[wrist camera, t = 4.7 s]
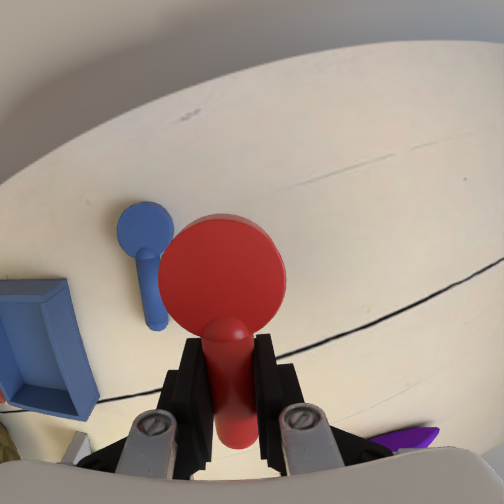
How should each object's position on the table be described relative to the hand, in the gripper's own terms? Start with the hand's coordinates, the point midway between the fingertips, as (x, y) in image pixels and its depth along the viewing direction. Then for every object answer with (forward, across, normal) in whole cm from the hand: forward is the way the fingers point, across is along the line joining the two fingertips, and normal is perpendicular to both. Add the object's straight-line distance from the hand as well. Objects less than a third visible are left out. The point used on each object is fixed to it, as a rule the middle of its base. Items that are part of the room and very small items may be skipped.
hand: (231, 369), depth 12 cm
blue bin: (+12, +19, +6) cm, 23 cm away
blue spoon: (+12, +6, -1) cm, 13 cm away
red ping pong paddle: (0, 0, -1) cm, 1 cm away
